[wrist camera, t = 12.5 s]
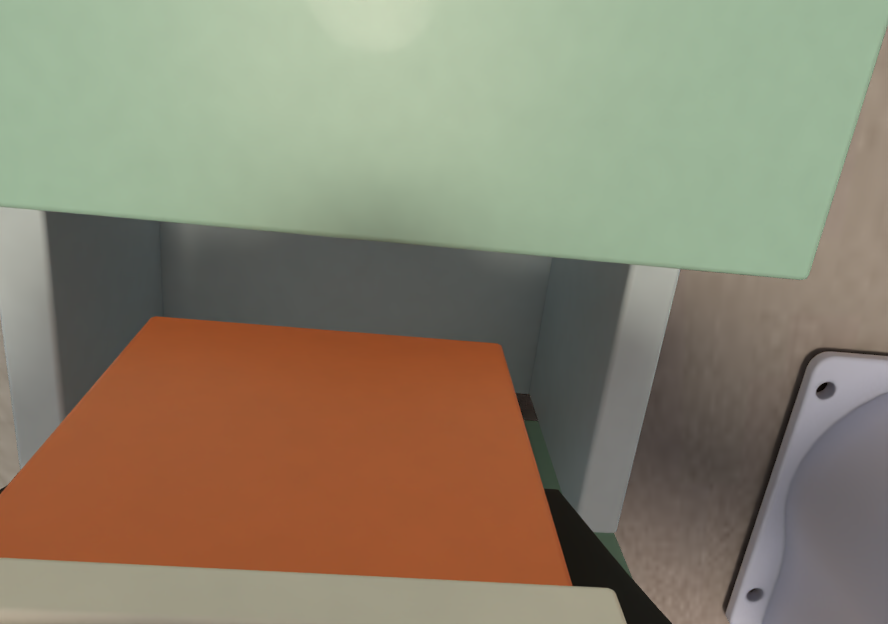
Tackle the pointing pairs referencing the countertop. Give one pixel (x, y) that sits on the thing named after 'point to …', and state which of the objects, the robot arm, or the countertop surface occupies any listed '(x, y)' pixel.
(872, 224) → the countertop surface
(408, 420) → the plastic tub
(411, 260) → the drawer
